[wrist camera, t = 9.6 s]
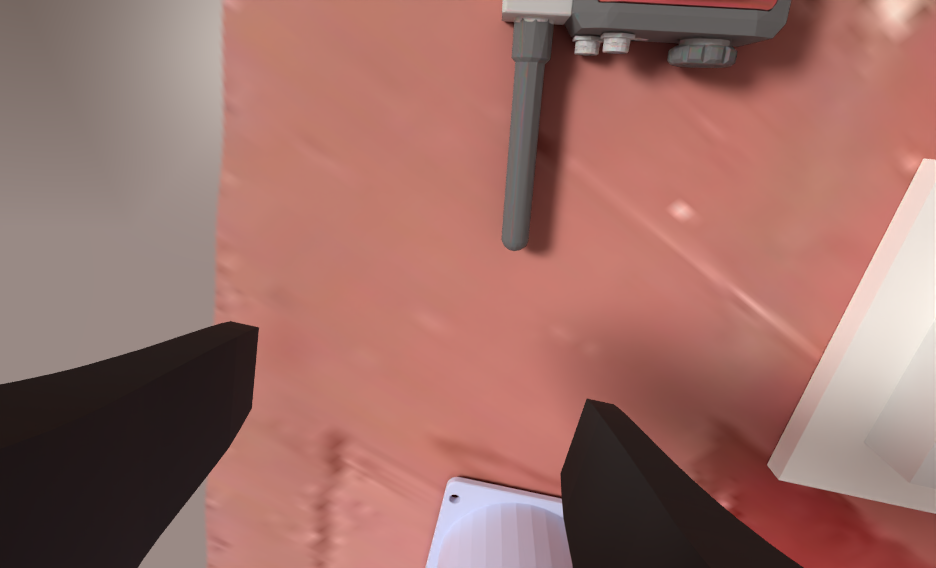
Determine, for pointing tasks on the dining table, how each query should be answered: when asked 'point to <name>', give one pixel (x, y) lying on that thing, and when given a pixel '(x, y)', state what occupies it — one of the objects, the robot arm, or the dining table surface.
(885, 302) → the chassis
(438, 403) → the dining table surface
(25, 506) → the robot arm
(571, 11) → the walkie-talkie
